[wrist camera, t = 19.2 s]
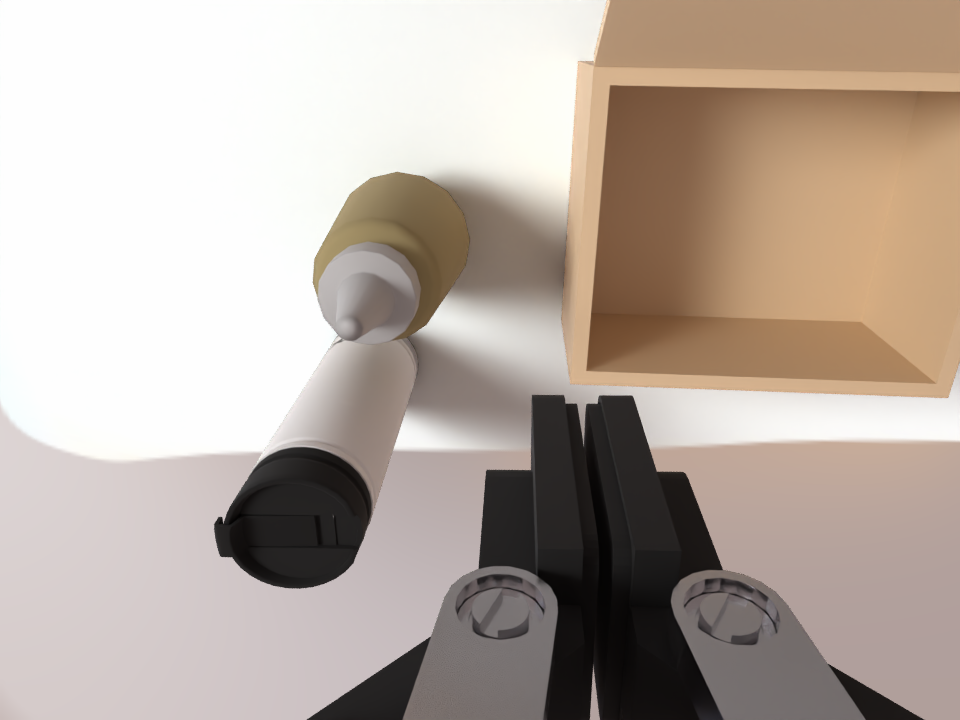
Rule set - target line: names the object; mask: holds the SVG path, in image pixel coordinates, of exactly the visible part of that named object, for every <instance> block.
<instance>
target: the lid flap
mask: <svg viewBox="0 0 960 720" xmlns="http://www.w3.org/2000/svg"><path fill="white" fill-rule="evenodd" d="M594 66H613V67H671V68H729V69H787V70H845V71H902V72H960V0H607V2H606V7H605V11H604V15H603V19H602V23H601V27H600V31H599V36H598V40H597V44H596V48H595V52H594Z"/></svg>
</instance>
